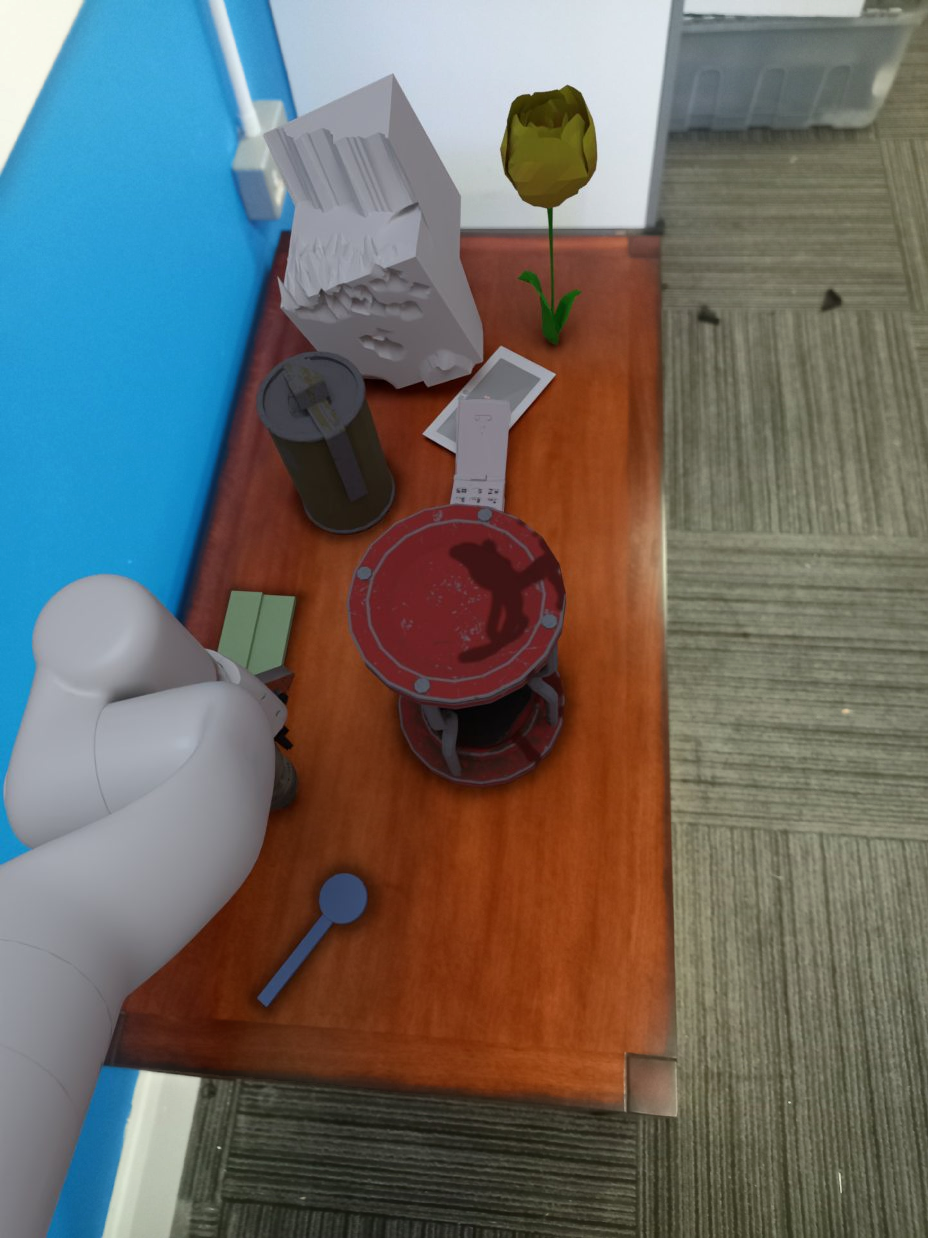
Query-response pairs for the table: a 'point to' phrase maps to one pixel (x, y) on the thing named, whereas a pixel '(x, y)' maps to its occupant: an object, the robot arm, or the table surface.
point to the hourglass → (465, 638)
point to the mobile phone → (481, 452)
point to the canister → (327, 440)
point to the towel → (257, 630)
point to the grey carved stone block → (376, 240)
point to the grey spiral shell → (283, 782)
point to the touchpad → (494, 391)
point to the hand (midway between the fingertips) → (254, 766)
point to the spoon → (322, 926)
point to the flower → (549, 169)
